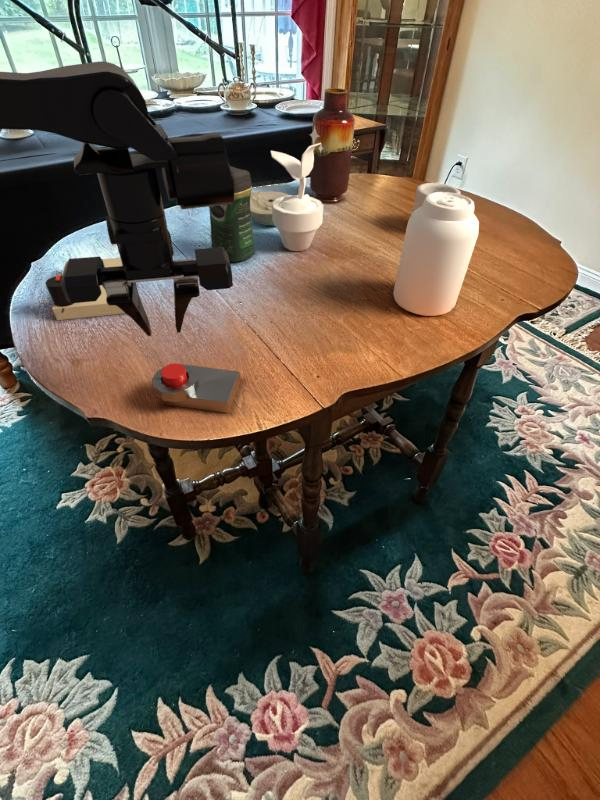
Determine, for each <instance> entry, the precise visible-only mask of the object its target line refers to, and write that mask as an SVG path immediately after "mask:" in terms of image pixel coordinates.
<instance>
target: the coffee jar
mask: <svg viewBox="0 0 600 800" xmlns="http://www.w3.org/2000/svg"><path fill="white" fill-rule="evenodd" d="M230 170H231V174H232V176H233V179H234V201H233V203H232V204H228V205H218V206H209V207H208V211H209V223H210V242H211V243H210V244H211V248H216V247H222V248H223V249H224V250H226V251H227V254H228V258H229V261H230V263H238V262H244V261H247V260H249V259H251V258H252V257H253V256H254V255H255V253H256V251H255V238H254V231H253V224H252V223H253V221H252V216H251V210H250V196H251V192H253V186H252V179H251V173H250V172H249V171H248V170H246V169H242V168H238V167H234V166H231V165H230Z"/></svg>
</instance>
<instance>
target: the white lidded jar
mask: <svg viewBox="0 0 600 800" xmlns="http://www.w3.org/2000/svg"><path fill="white" fill-rule="evenodd" d="M412 211H413V210H412ZM479 227H480V220H478V217H477V216H476V215H475V202H474V200H473V199H471V198H470V197H468V196H467V195H463V194H457V193H452V192H435V193H431V194H429V195H427V196H426V198H425V199H424V202H423V205H422V206H421V207H419V208H418V209H416V210H415V211H413V213H412V212H411V215H410V217H409V219H408V222H407V225H406V229H405V233H404V234H405V235H404V239H403V244H402V249H401V254H400V259H399V263H398V268H397V272H396V278H395V283H394V288H393V291H392V292H393V293H392V294H393V298H394V301H395V303H396V304H397V305H398V306H399V307H400V308H402V309H404V310H405V311H407V312H410V313H413V314H414V315H415V314H416V315H421V316H425V317H429V316H430V317H436V316H442V315H443V316H444V315H445V314H447V313H449V312H451V311H452V310H453V308H454V307H455V306H456V305H457V301H458V299H459V295H460V292H461V288H462V286H463V282H464V280H465V277H466V274H467V271H468V268H469V266H470V265H469V264H470V262H471V258H472V255H473V252H474V249H475V246H476V243H477V240H478V237H479V231H480V230H479V229H480V228H479Z"/></svg>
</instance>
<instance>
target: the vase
mask: <svg viewBox="0 0 600 800" xmlns="http://www.w3.org/2000/svg"><path fill="white" fill-rule="evenodd" d="M323 94H324V95H323V107H322V108H320V109H319V110H317V112H315V114H314V116H313V118H312V132H311V134H312V133H313V131H314V127H315V129H316V133H317V135H319V136H320V137H317V138H316V139H315V142H314V144H318V143H321V144H320V145H321V146H322V148H324V149H322V150H321V152H320V150H319V147H320V145H317V146H315V148H314V151H313V153H314V163H313V169H312V170H311V172H310V173H309V176H310V177H309V188H310V190H311V191H312V192H313V193H312V198H315V199H317V200H319V201H321V203H322V204H338V203H340V202H343V200H344V195H343V194H346V192H347V191H348V189H349V182H350V180H349V179H350V174H351V173H350V171H351V162H352V154H353V143H354V135H355V123H356V120H355V116H354V115H353V113H352V112H350V111H349V110H348V109H347V104H348V90H347V89H345V88H339V87H328V88H325V89H324V93H323ZM311 145H313V139H312V138H311Z"/></svg>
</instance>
